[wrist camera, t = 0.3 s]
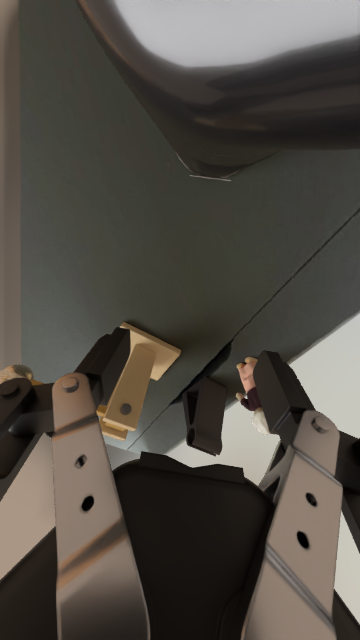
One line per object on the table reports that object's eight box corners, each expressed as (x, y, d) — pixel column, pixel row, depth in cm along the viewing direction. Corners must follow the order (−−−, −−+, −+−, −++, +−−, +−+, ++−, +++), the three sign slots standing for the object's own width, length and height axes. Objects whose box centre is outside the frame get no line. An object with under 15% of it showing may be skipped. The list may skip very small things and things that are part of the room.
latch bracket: (106, 353, 38) (63, 429, 26) (123, 321, 33) (78, 397, 21) (158, 376, 41) (140, 453, 29) (181, 349, 36) (170, 431, 24)
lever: (11, 369, 25) (-13, 393, 22) (12, 354, 23) (-15, 378, 20) (127, 413, 29) (119, 438, 26) (136, 403, 27) (128, 429, 24)
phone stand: (205, 375, 39) (207, 437, 30) (227, 387, 41) (235, 449, 31) (181, 393, 44) (176, 452, 34) (201, 403, 46) (202, 461, 36)
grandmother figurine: (245, 376, 38) (261, 445, 28) (229, 370, 38) (239, 438, 27) (270, 354, 34) (300, 425, 24) (253, 346, 33) (276, 416, 23)
